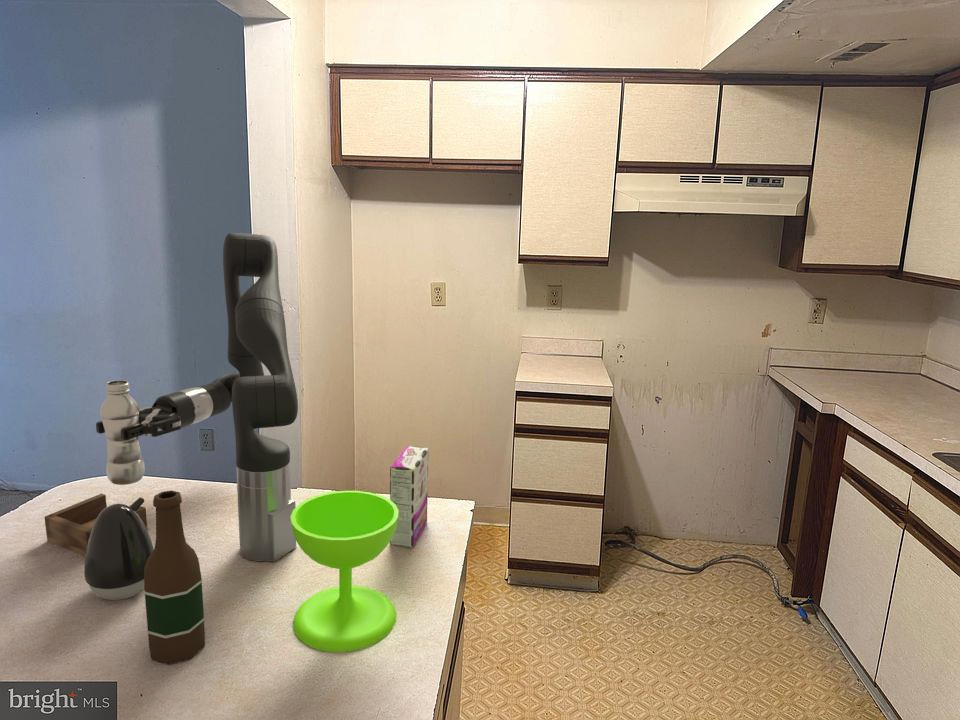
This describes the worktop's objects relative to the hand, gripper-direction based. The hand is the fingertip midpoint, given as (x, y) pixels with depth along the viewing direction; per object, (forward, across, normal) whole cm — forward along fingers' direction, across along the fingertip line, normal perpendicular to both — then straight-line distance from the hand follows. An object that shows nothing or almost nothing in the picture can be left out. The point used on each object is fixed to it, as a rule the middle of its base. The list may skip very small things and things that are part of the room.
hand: (110, 431), depth 121 cm
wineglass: (+2, +55, +20) cm, 58 cm away
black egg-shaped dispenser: (+13, +19, +20) cm, 30 cm away
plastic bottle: (-2, 0, +11) cm, 11 cm away
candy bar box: (-26, +49, +20) cm, 59 cm away
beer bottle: (+19, +38, +20) cm, 47 cm away
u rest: (+3, 0, +20) cm, 20 cm away
